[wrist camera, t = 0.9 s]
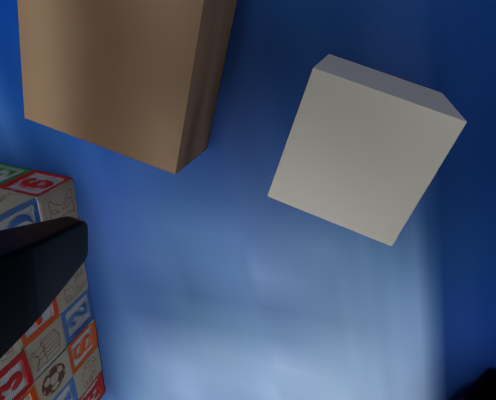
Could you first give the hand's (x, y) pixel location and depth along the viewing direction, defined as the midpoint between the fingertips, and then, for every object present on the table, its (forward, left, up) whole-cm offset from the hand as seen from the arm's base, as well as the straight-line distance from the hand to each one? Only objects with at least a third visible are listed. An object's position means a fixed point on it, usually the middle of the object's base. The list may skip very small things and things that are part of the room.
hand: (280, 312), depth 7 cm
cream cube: (-1, -1, -12) cm, 12 cm away
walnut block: (+10, -1, -12) cm, 16 cm away
